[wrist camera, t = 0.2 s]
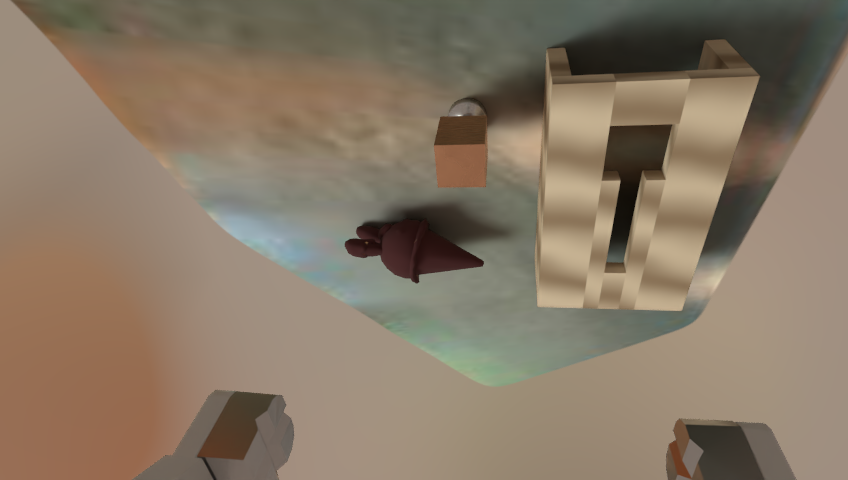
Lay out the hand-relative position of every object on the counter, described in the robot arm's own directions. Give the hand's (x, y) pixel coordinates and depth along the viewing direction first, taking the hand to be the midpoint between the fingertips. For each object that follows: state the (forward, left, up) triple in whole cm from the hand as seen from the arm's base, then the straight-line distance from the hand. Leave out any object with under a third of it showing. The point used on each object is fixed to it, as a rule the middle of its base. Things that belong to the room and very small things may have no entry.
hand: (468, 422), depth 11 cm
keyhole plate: (+18, +11, -39) cm, 44 cm away
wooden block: (+12, -3, -39) cm, 40 cm away
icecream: (+26, -9, -39) cm, 48 cm away
